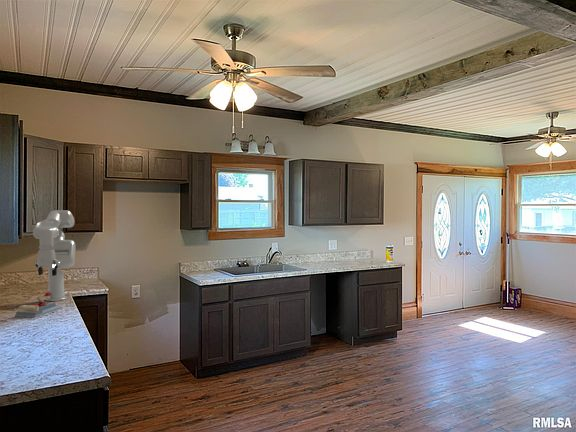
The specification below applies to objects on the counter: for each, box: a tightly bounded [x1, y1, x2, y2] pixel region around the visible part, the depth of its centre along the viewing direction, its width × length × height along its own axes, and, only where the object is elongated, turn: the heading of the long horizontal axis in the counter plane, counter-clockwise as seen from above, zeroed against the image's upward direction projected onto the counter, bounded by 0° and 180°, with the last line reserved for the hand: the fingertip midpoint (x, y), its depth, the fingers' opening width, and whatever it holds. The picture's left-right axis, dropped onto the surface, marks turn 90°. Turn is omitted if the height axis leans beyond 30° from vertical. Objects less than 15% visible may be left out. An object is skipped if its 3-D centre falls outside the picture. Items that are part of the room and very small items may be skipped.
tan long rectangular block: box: [18, 304, 39, 313], centre depth 258 cm, size 4×10×4 cm, turn 81°
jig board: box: [14, 301, 63, 318], centre depth 266 cm, size 23×14×4 cm, turn 171°
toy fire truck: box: [31, 291, 51, 307], centre depth 268 cm, size 3×14×10 cm, turn 169°
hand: (47, 275), depth 273 cm, fingers open, 9 cm apart
